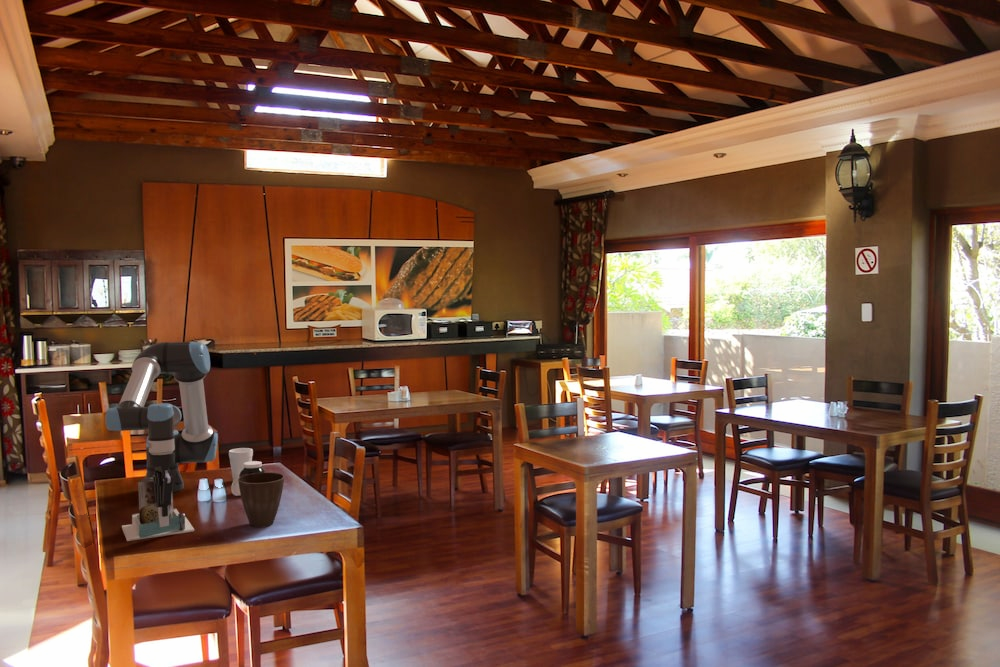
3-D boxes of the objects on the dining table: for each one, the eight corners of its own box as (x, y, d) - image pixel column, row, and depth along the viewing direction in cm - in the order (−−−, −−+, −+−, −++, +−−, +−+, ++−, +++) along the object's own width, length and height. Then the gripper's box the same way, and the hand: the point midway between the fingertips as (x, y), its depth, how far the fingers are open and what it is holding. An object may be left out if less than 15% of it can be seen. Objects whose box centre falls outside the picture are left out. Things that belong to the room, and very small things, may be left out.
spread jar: (268, 489, 306) (268, 460, 306) (259, 497, 295) (259, 467, 295) (239, 489, 307) (238, 460, 306) (228, 497, 295) (228, 467, 295)
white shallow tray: (121, 527, 256) (121, 515, 256) (185, 518, 267) (185, 506, 266) (127, 541, 242) (126, 528, 242) (194, 531, 252) (194, 518, 252)
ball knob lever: (183, 527, 253) (182, 512, 252) (186, 528, 251) (185, 513, 251) (138, 538, 242) (138, 522, 241) (141, 539, 240) (141, 524, 240)
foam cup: (235, 485, 314) (234, 453, 314) (225, 481, 321) (225, 450, 320) (257, 481, 321) (256, 450, 320) (247, 477, 327) (246, 447, 327)
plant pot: (292, 524, 260) (292, 477, 259) (251, 533, 250) (250, 485, 249) (272, 515, 271) (271, 470, 270) (231, 523, 261) (230, 477, 260)
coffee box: (174, 523, 259) (173, 476, 258) (167, 529, 252) (166, 480, 251) (146, 524, 258) (145, 476, 257) (138, 529, 252) (137, 481, 251)
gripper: (142, 451, 247) (145, 524, 247) (156, 457, 237) (158, 532, 238) (166, 448, 252) (169, 519, 252) (181, 453, 242) (183, 527, 243)
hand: (164, 525), depth 245 cm, fingers closed
